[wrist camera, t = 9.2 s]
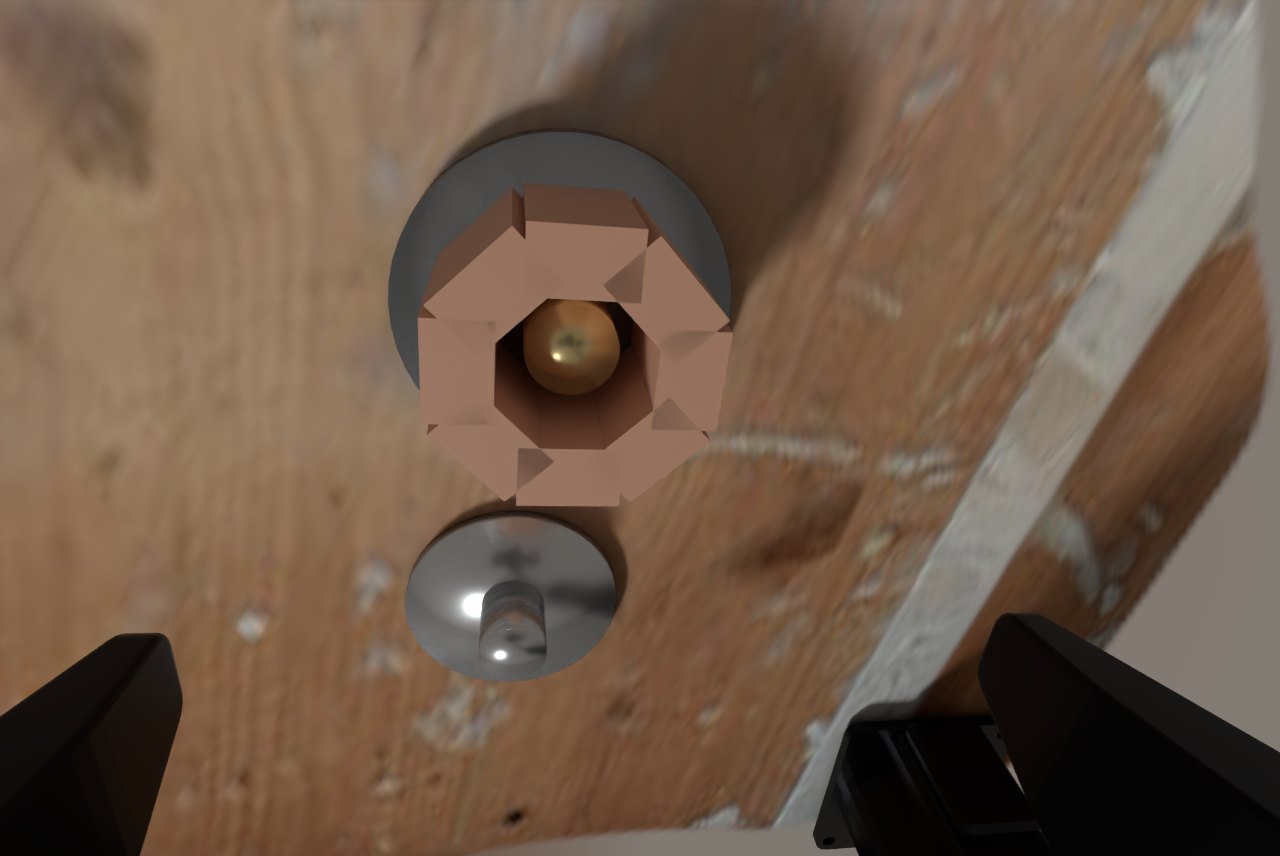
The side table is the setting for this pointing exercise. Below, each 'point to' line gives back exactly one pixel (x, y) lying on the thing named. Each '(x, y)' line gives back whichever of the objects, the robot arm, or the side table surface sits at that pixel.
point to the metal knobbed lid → (510, 596)
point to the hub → (558, 328)
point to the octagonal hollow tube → (551, 422)
